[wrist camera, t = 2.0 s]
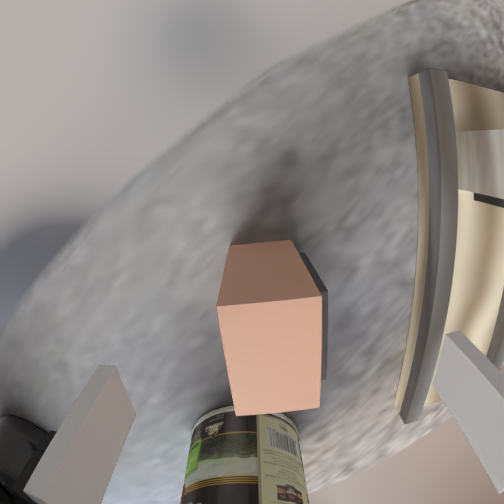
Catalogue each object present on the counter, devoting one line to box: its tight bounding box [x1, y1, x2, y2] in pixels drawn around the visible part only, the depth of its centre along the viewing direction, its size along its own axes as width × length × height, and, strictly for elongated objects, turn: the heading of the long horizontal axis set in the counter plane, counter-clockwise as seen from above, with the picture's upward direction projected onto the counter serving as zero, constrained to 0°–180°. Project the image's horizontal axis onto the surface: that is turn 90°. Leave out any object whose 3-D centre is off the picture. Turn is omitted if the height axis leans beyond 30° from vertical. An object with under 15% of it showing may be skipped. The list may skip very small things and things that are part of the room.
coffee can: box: [181, 405, 309, 504], centre depth 19 cm, size 10×10×14 cm
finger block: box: [216, 240, 328, 416], centre depth 17 cm, size 6×5×9 cm
